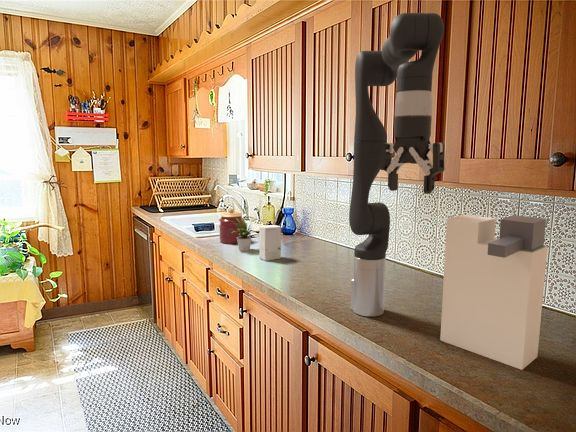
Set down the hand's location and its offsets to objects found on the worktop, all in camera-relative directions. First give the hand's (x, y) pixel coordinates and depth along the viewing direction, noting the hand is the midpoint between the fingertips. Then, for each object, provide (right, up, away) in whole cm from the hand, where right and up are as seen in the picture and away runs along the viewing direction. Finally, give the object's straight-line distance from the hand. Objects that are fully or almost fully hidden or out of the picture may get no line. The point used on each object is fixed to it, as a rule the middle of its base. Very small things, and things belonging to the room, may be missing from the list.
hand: (409, 191), depth 94 cm
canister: (-56, -19, +136) cm, 149 cm away
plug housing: (+23, -12, +2) cm, 27 cm away
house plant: (-49, -22, +118) cm, 129 cm away
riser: (+23, -38, +14) cm, 47 cm away
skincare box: (-34, -24, +101) cm, 110 cm away
